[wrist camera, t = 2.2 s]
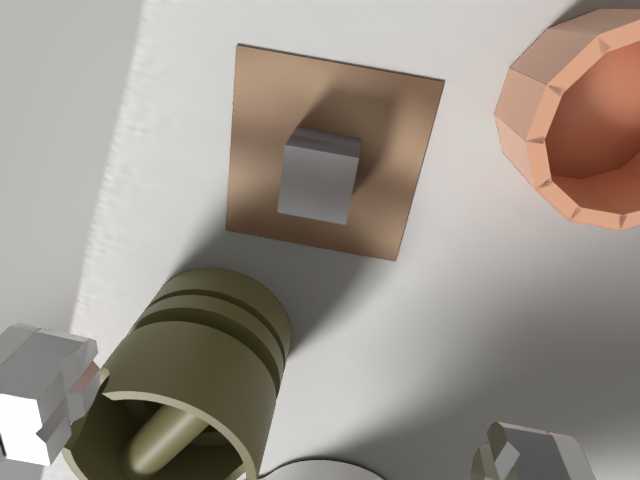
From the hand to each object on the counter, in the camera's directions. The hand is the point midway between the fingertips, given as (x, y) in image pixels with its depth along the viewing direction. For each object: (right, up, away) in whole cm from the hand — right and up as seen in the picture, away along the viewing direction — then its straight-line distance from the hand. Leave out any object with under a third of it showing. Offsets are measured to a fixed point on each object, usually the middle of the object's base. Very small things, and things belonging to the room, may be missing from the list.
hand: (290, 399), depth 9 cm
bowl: (+16, +11, +16) cm, 25 cm away
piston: (-7, -4, +27) cm, 28 cm away
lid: (+1, +8, +20) cm, 21 cm away
